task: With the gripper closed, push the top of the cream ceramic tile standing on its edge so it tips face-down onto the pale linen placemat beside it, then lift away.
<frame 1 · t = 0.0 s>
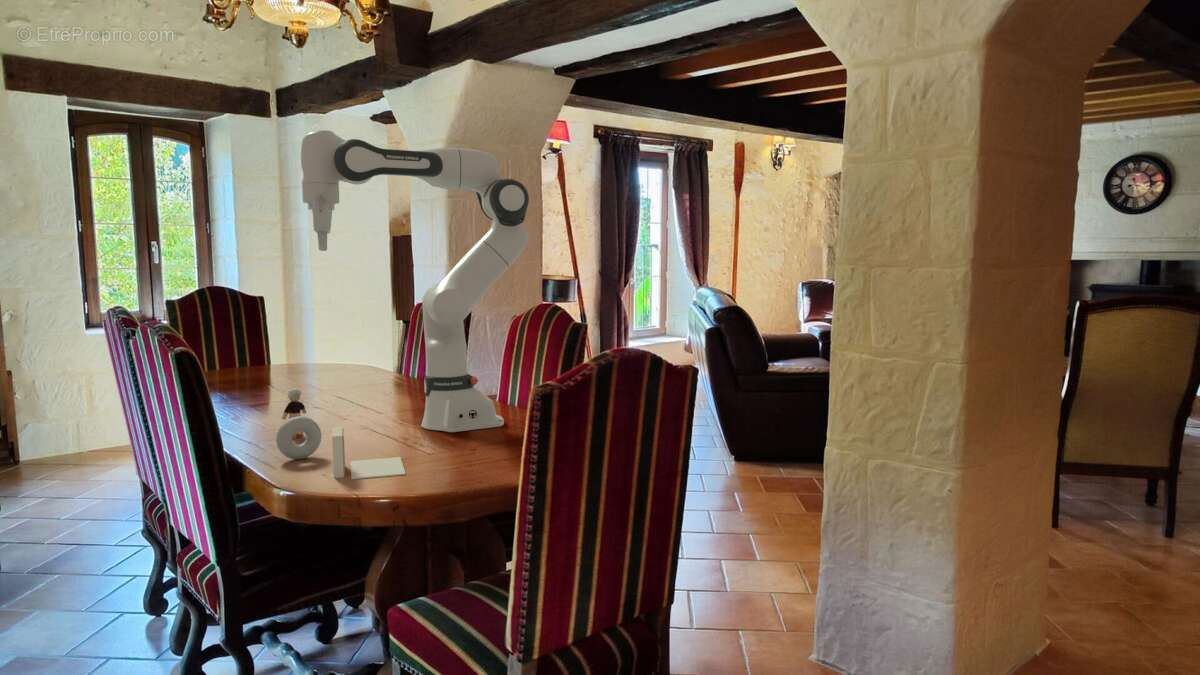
hand: (323, 250, 193), 48 cm above the table, fingers open, 8 cm apart
donut: (300, 459, 174), on the table
tile: (338, 472, 163), on the table
grandmother figurine: (296, 437, 196), on the table
placemat: (377, 468, 166), on the table
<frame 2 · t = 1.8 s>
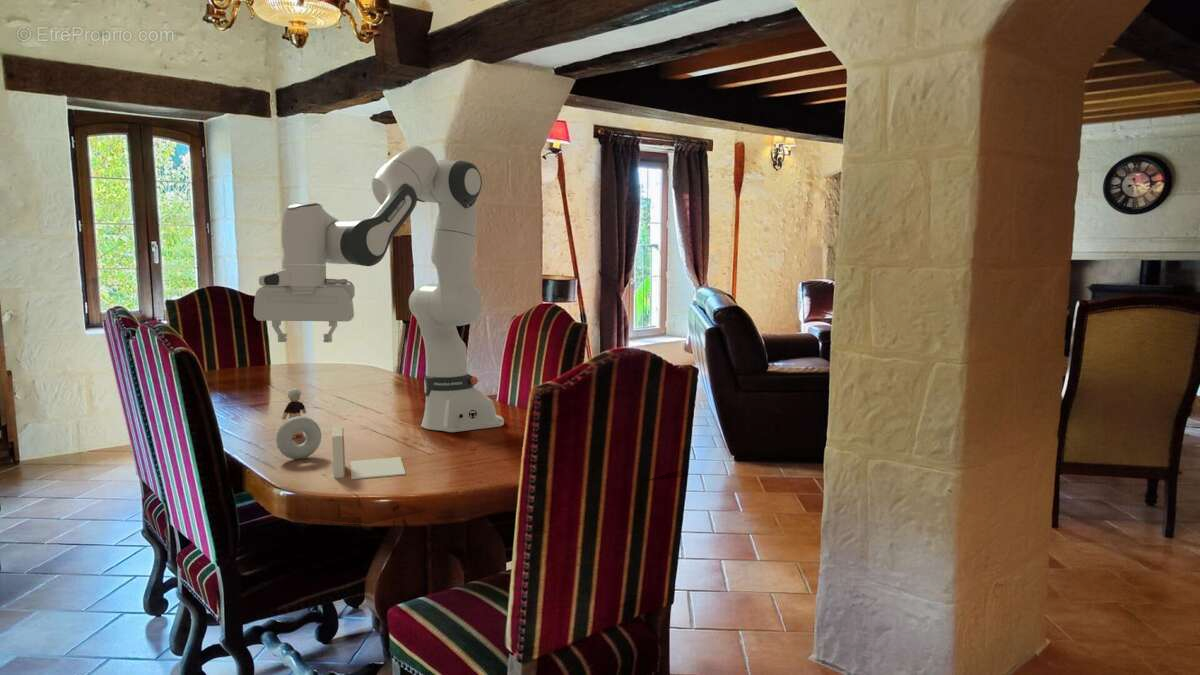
hand: (305, 342, 164), 28 cm above the table, fingers open, 8 cm apart
nothing on the table moved.
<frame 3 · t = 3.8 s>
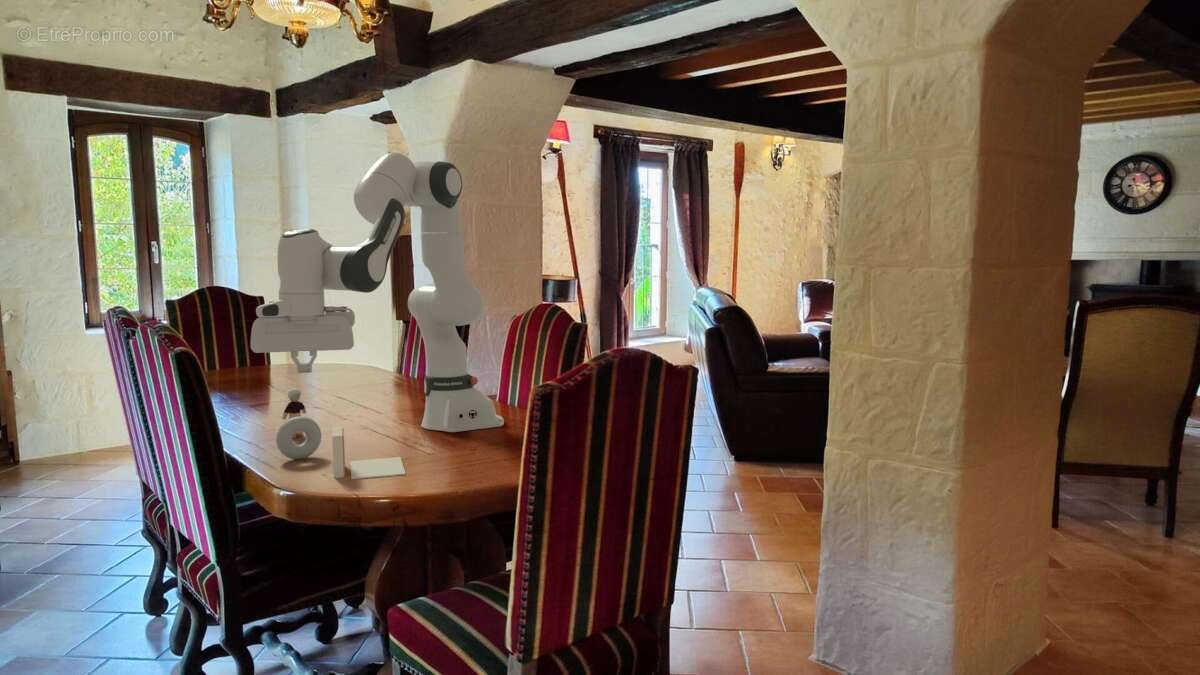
hand: (304, 372, 159), 22 cm above the table, fingers closed
nothing on the table moved.
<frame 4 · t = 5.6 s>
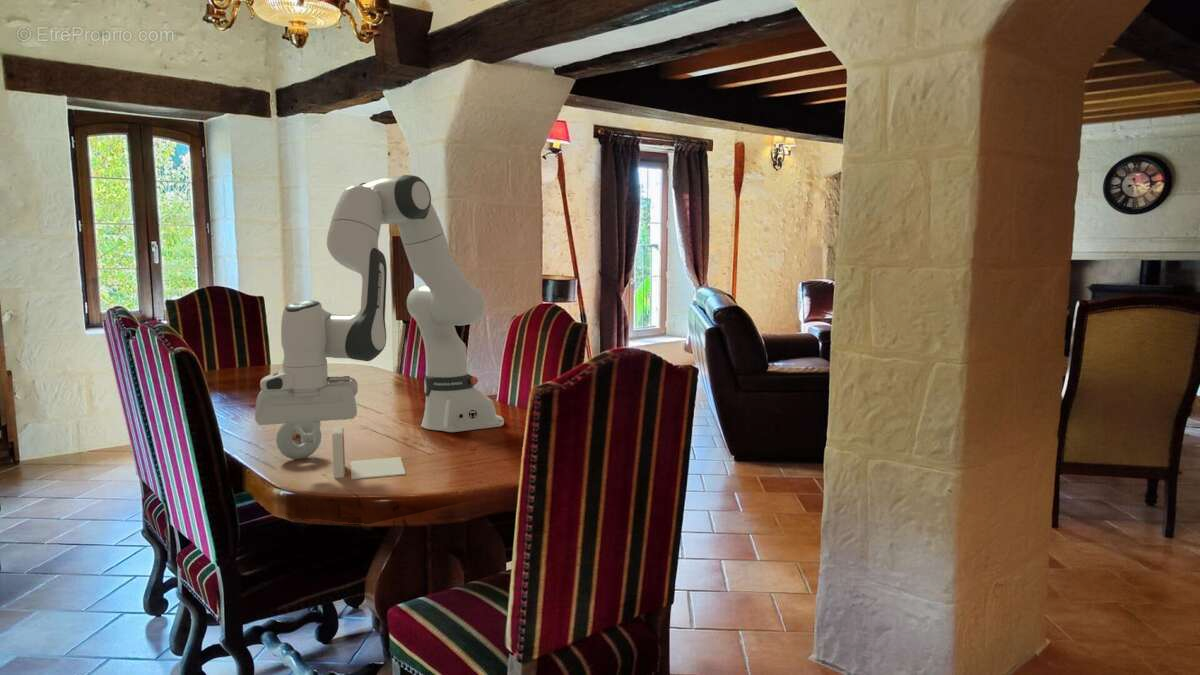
hand: (308, 441, 161), 7 cm above the table, fingers closed
nothing on the table moved.
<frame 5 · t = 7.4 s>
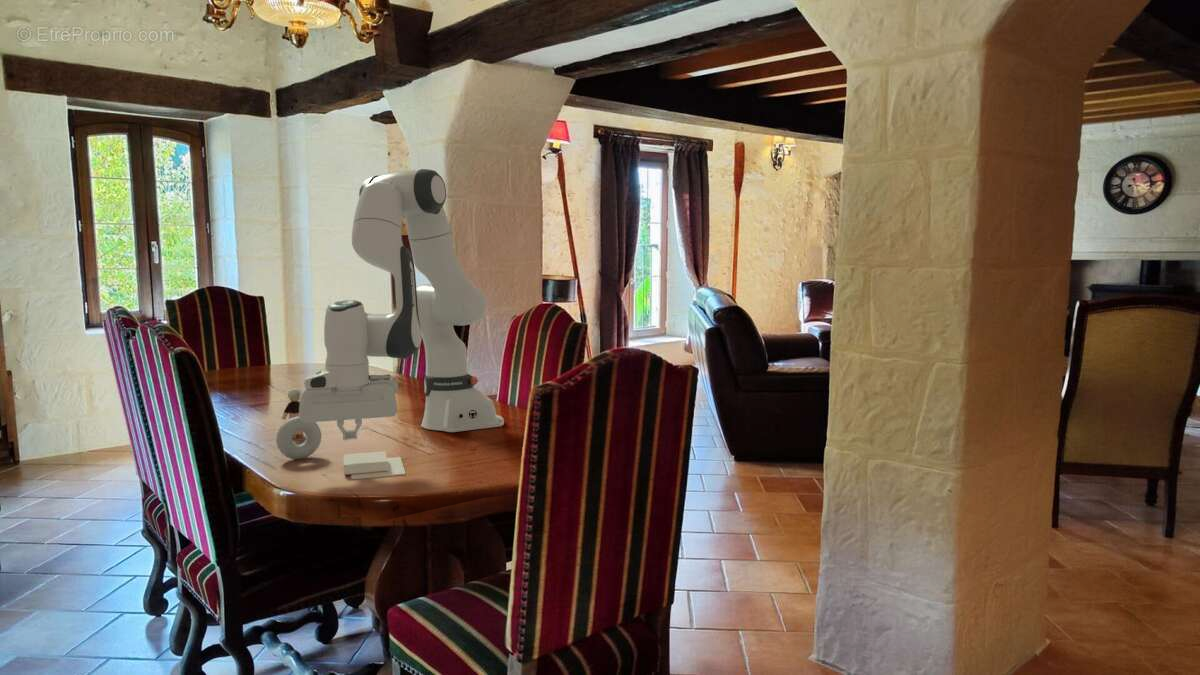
hand: (350, 439, 164), 7 cm above the table, fingers closed
tile: (343, 464, 164), point 2 cm above the table, tilted 90°, touching placemat
everything else where it was.
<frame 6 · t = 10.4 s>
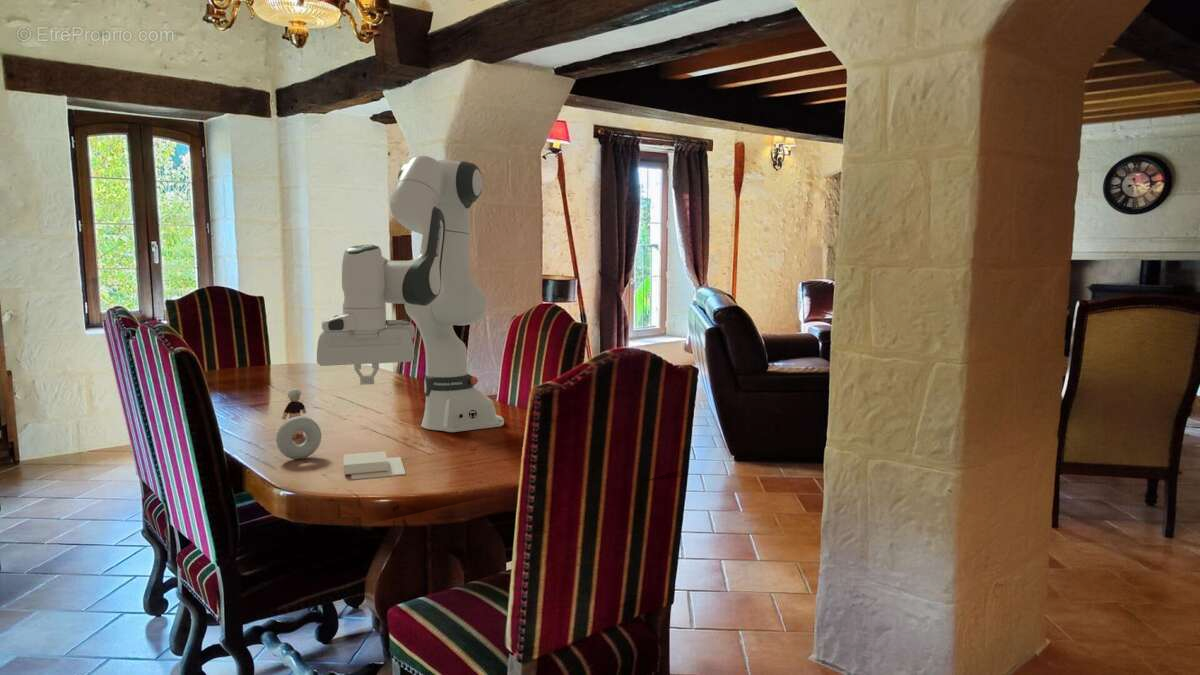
hand: (367, 384, 164), 19 cm above the table, fingers closed
nothing on the table moved.
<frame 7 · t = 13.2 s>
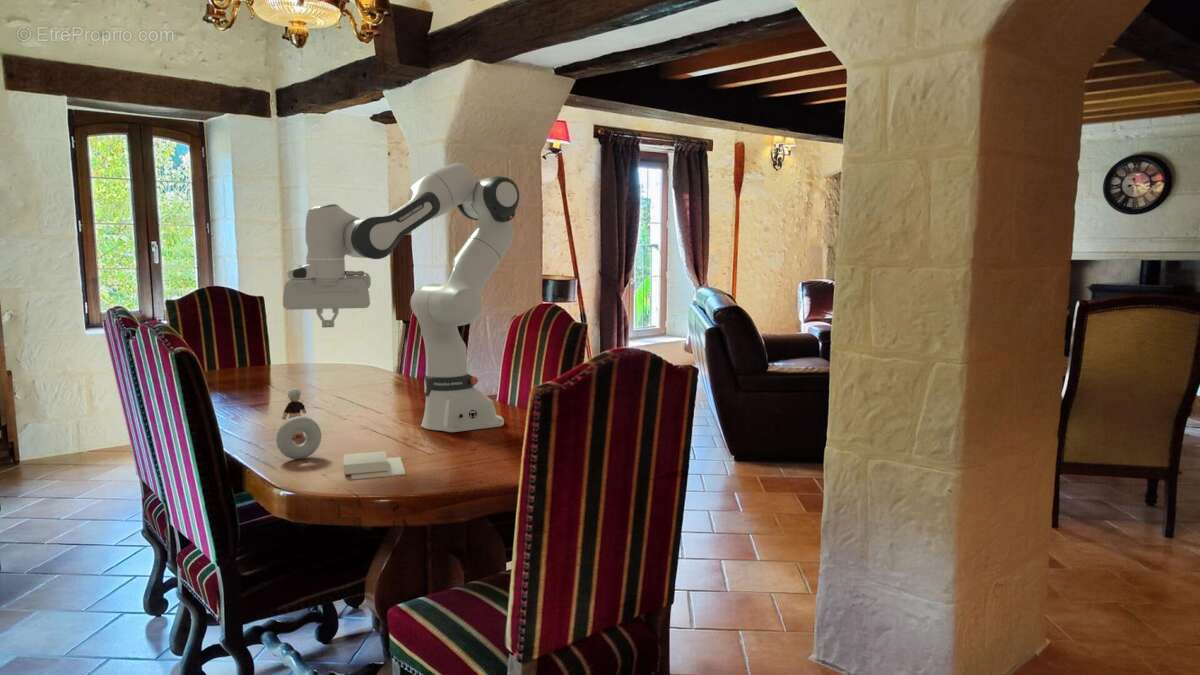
hand: (328, 327, 186), 29 cm above the table, fingers closed
nothing on the table moved.
at the end: tile tilted 90°; tile touching placemat; the gripper is holding nothing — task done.
